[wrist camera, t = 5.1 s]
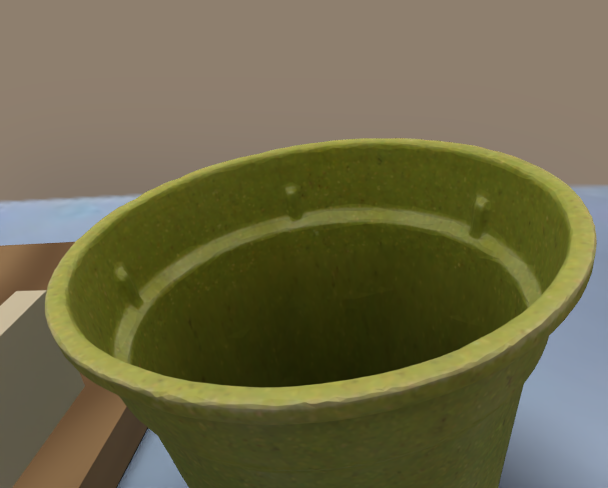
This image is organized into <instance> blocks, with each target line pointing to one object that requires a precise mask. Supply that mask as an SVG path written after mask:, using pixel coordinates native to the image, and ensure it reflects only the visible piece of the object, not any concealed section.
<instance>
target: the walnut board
mask: <svg viewBox="0 0 608 488" xmlns="http://www.w3.org/2000/svg"><path fill="white" fill-rule="evenodd" d="M74 243H75V242H64V243H45V244H26V245H6V246H0V306H1V305H2V304H3V303H4V302H5V301H6V300H7V299H8V298H9V297H10V296H11V295H13V294H14V293H15V292H16V291H38V290H47V287H48V284H49V281H50V279H51V277H52V275H53V272H54V270H55V269H56V268H57V266H58V264H59V262H60V261H61V259H62V258H63V257H64V255H65V254H66V253H67V251H68V250H69V249H70V248H71V246H72V245H73V244H74ZM80 375H81V377H82V380H83V382H84V385H85V387H84V388H83V390H82V391H81V392H80V394H79V395H78V397H77V398H76V399H75V401H74V402H73V403H72V405H71V406H70V408H69V409H68V410H67V412H66V413H65V415H64V416H63V417H62V419H61V420H60V422H59V423H58V424H57V426H56V427H55V429H54V430H53V431H52V433H51V434H50V436H49V437H48V438H47V440H46V441H45V443H44V444H43V445H42V447H41V448H40V450H39V451H38V452H37V454H36V455H35V457H34V458H33V459H32V461H31V462H30V464H29V465H28V466H27V468H26V469H25V471H24V472H23V473H22V475H21V476H20V477H19V479H18V480H17V482H16V483H15V484H14V486H13V487H12V488H116V487H117V485H118V483H119V481H120V479H121V477H122V475H123V473H124V472H125V470H126V468H127V466H128V464H129V462H130V460H131V458H132V456H133V454H134V452H135V451H136V449H137V447H138V445H139V443H140V441H141V439H142V437H143V435H144V433H145V431H146V429H147V428H148V427H147V426H146V425H144V424H143V423H142V422H141V421H139V420H138V419H137V418H136V417H135V416H134V415H133V413H132V412H131V411H130V410H129V409H128V407H127V406H126V405H125V403H124V402H123V401H122V399H121V398H120V397H119V395H117V394H114V393H112V392H110V391H108V390H106V389H104V388H103V387H101V386H99V385H97V384H95V383H94V382H92V381H91V380H90V379H88V378H87V377H85V376H84V375H83V374H81V373H80Z"/></svg>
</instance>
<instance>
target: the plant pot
mask: <svg viewBox="0 0 608 488" xmlns="http://www.w3.org/2000/svg"><path fill="white" fill-rule="evenodd" d="M596 244H597V243H596V232H595V225H594V223H593V220H592V216H591V215H590V213H589V211H588V209H587V207H586V206H585V205H584V203H583V201H582V200H581V198H580V197H579V196H578V195H577V194H576V193H575V192H574V191H573V190H572V189H571V188H570V187H569V186H568V185H567V184H565V183H564V182H563V181H561V180H560V179H558V178H557V177H555V176H554V175H552V174H551V173H549V172H547V171H545V170H543V169H542V168H539V167H538V166H535V165H533V164H531V163H528V162H526V161H524V160H522V159H519V158H517V157H514V156H511V155H507V154H504V153H501V152H497V151H492V150H488V149H485V148H482V147H478V146H473V145H465V144H459V143H452V142H441V141H430V140H429V141H428V140H422V139H405V138H404V139H403V138H395V139H377V138H376V139H368V138H364V139H348V140H335V141H327V142H321V143H310V144H304V145H296V146H291V147H287V148H280V149H276V150H271V151H267V152H264V153H261V154H256V155H250V156H247V157H240V158H237V159H234V160H229V161H225V162H222V163H219V164H215V165H212V166H209V167H206V168H203V169H200V170H197V171H194V172H192V173H189V174H187V175H185V176H183V177H182V178H179V179H176V180H172V181H169V182H167V183H165V184H163V185H161V186H159V187H156V188H155V189H152V190H149V191H148V192H146V193H144V194H142V195H141V196H139V197H138V198H137V199H135V200H133V201H130V202H128V203H126V204H125V205H123V206H121V207H119V208H117V209H115V210H114V211H113V212H111V213H110V214H108V215H107V216H105V217H104V218H103V219H102V220H100V221H99V222H98V223H97V224H95V225H94V226H93V227H92V228H91V229H90V230H88V231H87V232H86V233H85V234H84V235H83V236H82V237H81V238H79V239H78V240H77V241H76V242H75V243H74V244H73V245H72V246H71V248H70V249H69V250H68V251H67V253H66V254H65V255H64V257H63V258H62V259H61V261H60V262H59V264H58V266H57V268H56V269H55V270H54V272H53V275H52V277H51V279H50V281H49V284H48V287H47V293H46V296H45V316H46V320H47V323H48V327H49V329H50V331H51V334H52V336H53V338H54V339H55V341H56V343H57V344H58V346H59V348H60V350H61V351H62V353H63V355H64V356H65V358H66V359H67V360H68V361H69V362H70V363H71V364H72V365H73V366H74V367H75V368H76V369H77V370H78V371H79V372H80V373H81V374H83V375H84V376H85V377H87V378H88V379H90V380H91V381H92V382H94V383H95V384H97V385H99V386H101V387H103V388H104V389H106V390H108V391H110V392H112V393H114V394H117V395H119V397H120V398H121V399H122V401H123V402H124V403H125V405H126V406H127V407H128V409H129V410H130V411H131V412H132V413H133V415H134V416H135V417H136V418H137V419H138V420H139V421H141V422H142V423H143V424H144V425H146V426H147V427H148V428H149V429H150V430H152V431H153V432H154V433H155V434H157V435H158V437H159V438H160V440H161V442H162V443H163V445H164V447H165V448H166V450H167V451H168V453H169V455H170V456H171V458H172V460H173V462H174V463H175V465H176V467H177V469H178V470H179V472H180V474H181V475H182V477H183V478H184V480H185V482H186V483H187V485H188V487H189V488H498V486H499V481H500V477H501V473H502V469H503V465H504V461H505V456H506V452H507V448H508V444H509V440H510V436H511V432H512V428H513V424H514V420H515V416H516V412H517V408H518V404H519V400H520V396H521V392H522V389H523V385H524V383H525V381H526V380H527V379H528V377H529V376H530V374H531V373H532V372H533V370H534V369H535V367H536V365H537V363H538V361H539V359H540V358H541V356H542V354H543V351H544V349H545V346H546V344H547V341H548V337H549V335H550V334H551V333H552V332H553V331H554V330H555V329H556V328H557V327H558V326H559V325H560V324H561V323H562V322H563V321H564V320H565V318H566V317H567V316H568V315H569V313H570V312H571V311H572V309H573V308H574V307H575V305H576V304H577V303H578V301H579V300H580V298H581V296H582V294H583V292H584V290H585V288H586V286H587V284H588V281H589V278H590V276H591V273H592V269H593V263H594V258H595V252H596Z"/></svg>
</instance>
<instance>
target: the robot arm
mask: <svg viewBox="0 0 608 488" xmlns="http://www.w3.org/2000/svg"><path fill="white" fill-rule="evenodd" d="M46 293H47V290H38V291H16V292H15V293H14V294H13V295H11V296H10V297H9V298H8V299H7V300H6V301H5V302H4V303H3V304H2V305H1V306H0V488H12V487H13V486H14V484H15V483H16V482H17V480H18V479H19V477H20V476H21V475H22V473H23V472H24V471H25V469H26V468H27V466H28V465H29V464H30V462H31V461H32V459H33V458H34V457H35V455H36V454H37V452H38V451H39V450H40V448H41V447H42V445H43V444H44V443H45V441H46V440H47V438H48V437H49V436H50V434H51V433H52V431H53V430H54V429H55V427H56V426H57V424H58V423H59V422H60V420H61V419H62V417H63V416H64V415H65V413H66V412H67V410H68V409H69V408H70V406H71V405H72V403H73V402H74V401H75V399H76V398H77V397H78V395H79V394H80V392H81V391H82V390H83V388H84V387H85V385H84V382H83V380H82V377H81V375H80V372H79V371H78V370H77V369H76V368H75V367H74V366H73V365H72V364H71V363H70V362H69V361H68V360H67V359H66V358H65V356H64V355H63V353H62V351H61V350H60V348H59V346H58V344H57V343H56V341H55V339H54V338H53V336H52V334H51V331H50V329H49V327H48V323H47V320H46V316H45V296H46Z"/></svg>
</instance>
